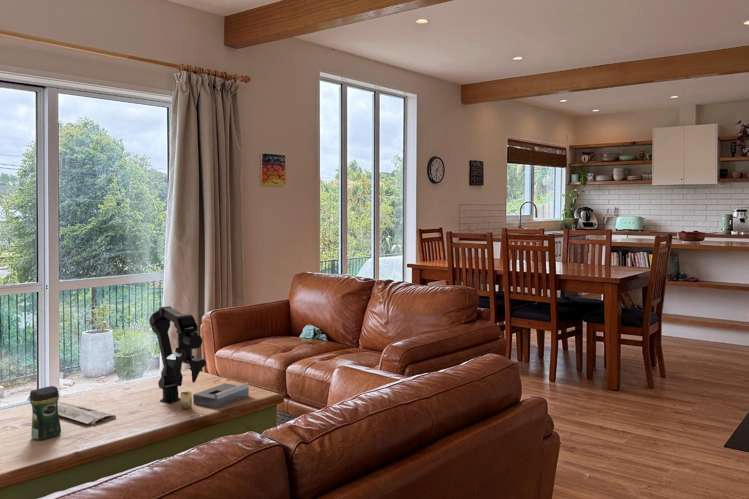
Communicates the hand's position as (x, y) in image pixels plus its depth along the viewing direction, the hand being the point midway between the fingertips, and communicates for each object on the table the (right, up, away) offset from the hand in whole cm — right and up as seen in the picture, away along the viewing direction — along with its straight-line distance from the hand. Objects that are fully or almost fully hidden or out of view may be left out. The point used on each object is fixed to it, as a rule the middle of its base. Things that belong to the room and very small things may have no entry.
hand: (185, 380), depth 271 cm
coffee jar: (-43, -15, -31) cm, 55 cm away
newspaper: (-44, -13, -7) cm, 46 cm away
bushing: (0, -12, +1) cm, 12 cm away
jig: (+12, -11, +14) cm, 21 cm away
